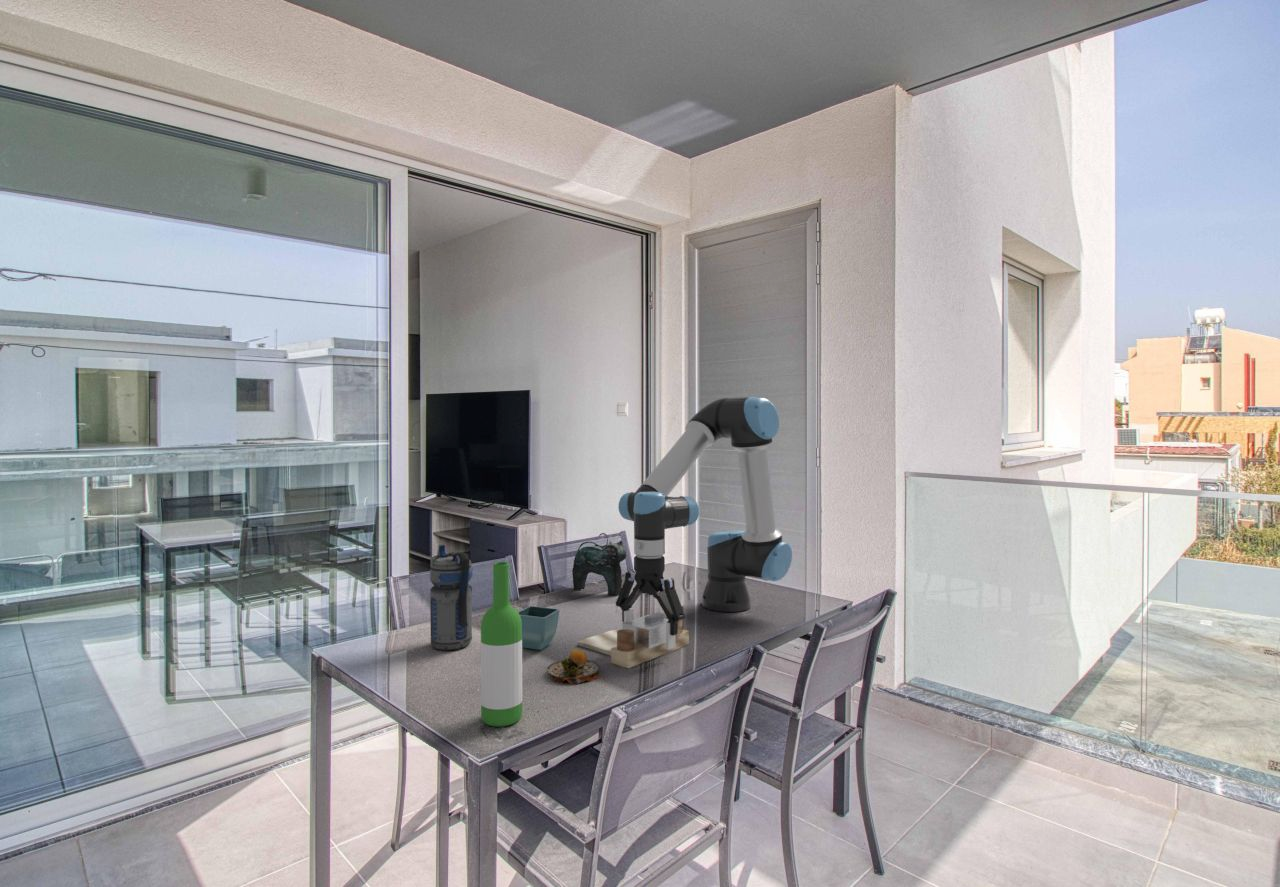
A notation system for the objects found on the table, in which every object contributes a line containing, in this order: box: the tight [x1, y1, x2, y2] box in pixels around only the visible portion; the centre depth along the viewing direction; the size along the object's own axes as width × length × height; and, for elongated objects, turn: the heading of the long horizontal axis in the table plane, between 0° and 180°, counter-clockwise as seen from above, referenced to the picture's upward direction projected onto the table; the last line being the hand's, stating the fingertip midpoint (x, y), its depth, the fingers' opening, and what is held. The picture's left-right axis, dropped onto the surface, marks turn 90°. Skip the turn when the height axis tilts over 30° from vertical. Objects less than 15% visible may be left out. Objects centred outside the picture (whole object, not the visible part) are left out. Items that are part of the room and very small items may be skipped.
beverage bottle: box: [429, 544, 474, 651], centre depth 172 cm, size 10×13×25 cm
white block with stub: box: [621, 612, 669, 649], centre depth 166 cm, size 10×8×6 cm
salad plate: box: [547, 644, 601, 685], centre depth 153 cm, size 12×12×8 cm
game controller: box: [571, 532, 627, 597], centre depth 227 cm, size 20×6×20 cm, turn 58°
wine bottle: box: [480, 561, 523, 727], centre depth 129 cm, size 8×8×30 cm
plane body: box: [610, 605, 690, 669], centre depth 167 cm, size 23×6×10 cm, turn 138°
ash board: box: [577, 628, 619, 657], centre depth 174 cm, size 14×12×1 cm
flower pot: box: [517, 605, 560, 651], centre depth 172 cm, size 9×9×9 cm
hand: (649, 642), depth 166 cm, fingers open, 13 cm apart
